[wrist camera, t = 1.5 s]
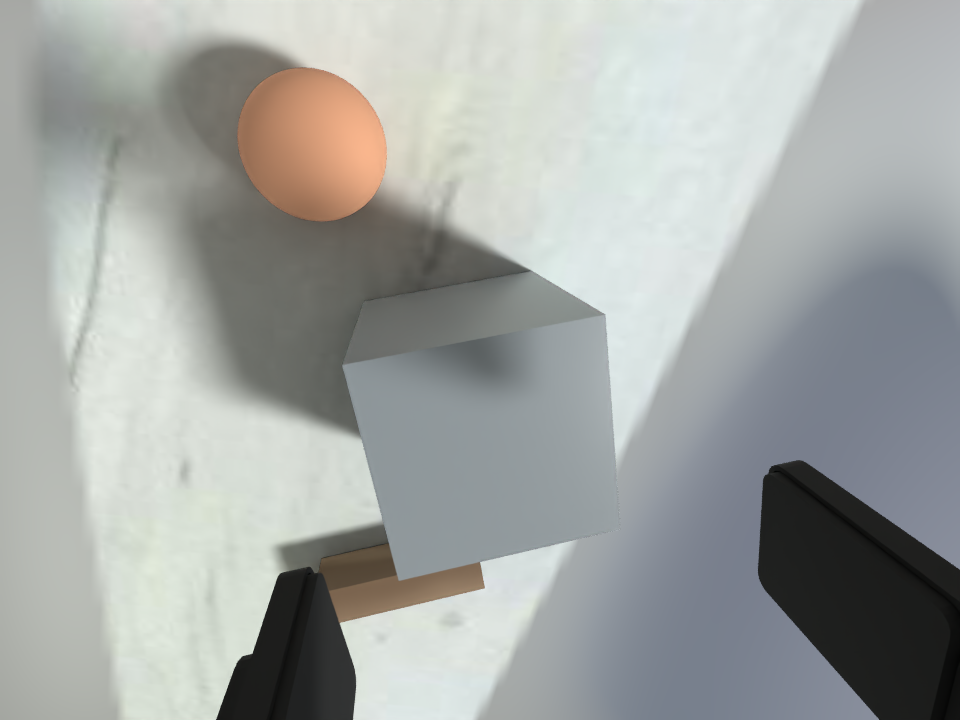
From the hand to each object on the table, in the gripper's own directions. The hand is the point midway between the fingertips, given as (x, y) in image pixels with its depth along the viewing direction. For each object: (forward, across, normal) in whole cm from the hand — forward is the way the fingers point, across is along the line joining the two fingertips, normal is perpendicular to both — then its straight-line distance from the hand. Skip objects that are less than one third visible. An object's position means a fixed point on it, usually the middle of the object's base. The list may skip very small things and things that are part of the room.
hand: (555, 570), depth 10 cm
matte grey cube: (+14, 0, 0) cm, 14 cm away
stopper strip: (+14, +6, +10) cm, 18 cm away
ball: (+12, +4, -10) cm, 16 cm away
